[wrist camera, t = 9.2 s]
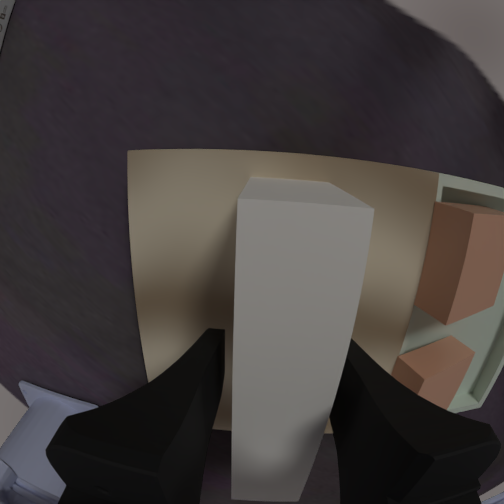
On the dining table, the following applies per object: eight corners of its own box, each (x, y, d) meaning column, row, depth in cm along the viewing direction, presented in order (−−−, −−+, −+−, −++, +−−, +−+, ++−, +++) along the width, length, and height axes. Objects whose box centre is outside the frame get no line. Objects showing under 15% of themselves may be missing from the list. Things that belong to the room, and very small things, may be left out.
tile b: (466, 290, 14) (493, 305, 12) (413, 304, 12) (445, 325, 10) (484, 206, 12) (516, 216, 10) (435, 201, 11) (474, 213, 9)
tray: (471, 393, 17) (480, 407, 15) (361, 407, 17) (367, 425, 15) (536, 197, 12) (553, 202, 11) (417, 168, 12) (434, 172, 11)
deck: (361, 407, 17) (368, 430, 15) (165, 397, 17) (156, 420, 15) (417, 168, 12) (439, 173, 10) (146, 149, 13) (127, 150, 11)
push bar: (293, 421, 15) (297, 501, 10) (239, 419, 15) (231, 499, 10) (329, 182, 11) (374, 209, 6) (250, 176, 11) (237, 198, 6)
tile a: (426, 394, 16) (445, 412, 14) (372, 419, 14) (392, 442, 13) (451, 335, 14) (475, 352, 13) (397, 356, 13) (424, 379, 11)
